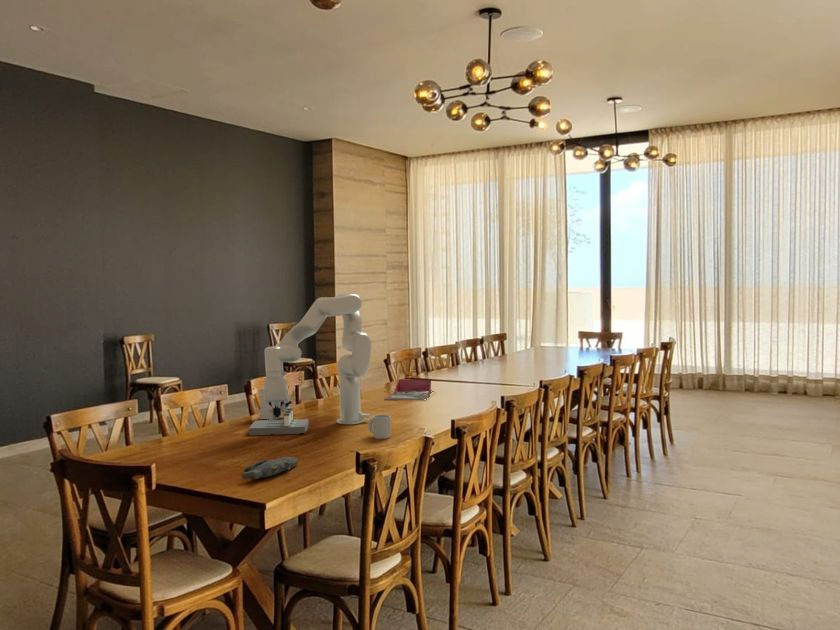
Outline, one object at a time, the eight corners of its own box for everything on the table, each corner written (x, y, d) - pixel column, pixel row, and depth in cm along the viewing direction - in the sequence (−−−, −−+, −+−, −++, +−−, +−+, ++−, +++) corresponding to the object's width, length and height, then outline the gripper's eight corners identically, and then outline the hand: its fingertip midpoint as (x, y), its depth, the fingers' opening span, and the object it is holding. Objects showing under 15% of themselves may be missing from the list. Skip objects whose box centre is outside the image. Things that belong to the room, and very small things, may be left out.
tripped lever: (289, 424, 306) (289, 412, 306) (289, 425, 304) (288, 413, 303) (284, 424, 306) (284, 412, 306) (284, 426, 303) (283, 413, 303)
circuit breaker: (287, 420, 333) (287, 389, 332) (259, 419, 336) (259, 388, 335) (293, 417, 340) (292, 386, 340) (266, 416, 343) (265, 386, 343)
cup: (385, 439, 289) (385, 418, 289) (364, 437, 294) (364, 416, 293) (393, 436, 296) (393, 415, 295) (372, 434, 300) (372, 413, 300)
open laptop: (437, 392, 416) (437, 378, 416) (426, 402, 382) (426, 387, 381) (397, 391, 421) (397, 378, 420) (383, 401, 386) (383, 386, 386)
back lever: (292, 419, 318) (292, 407, 318) (292, 420, 316) (291, 408, 315) (288, 419, 318) (287, 407, 318) (287, 420, 315) (287, 408, 315)
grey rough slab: (304, 452, 249) (270, 453, 255) (258, 468, 226) (223, 468, 233) (305, 466, 248) (272, 467, 255) (260, 483, 226) (224, 483, 233)
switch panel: (308, 425, 320) (308, 418, 320) (305, 433, 303) (304, 426, 303) (255, 427, 318) (255, 420, 318) (248, 435, 301) (248, 428, 301)
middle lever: (291, 422, 312) (291, 410, 312) (290, 423, 310) (290, 411, 309) (286, 422, 312) (286, 410, 312) (285, 423, 309) (285, 411, 309)
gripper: (293, 372, 308) (295, 413, 309) (258, 374, 307) (261, 415, 308) (291, 375, 300) (293, 417, 302) (255, 377, 299) (258, 419, 301)
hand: (277, 416), depth 305 cm, fingers closed
